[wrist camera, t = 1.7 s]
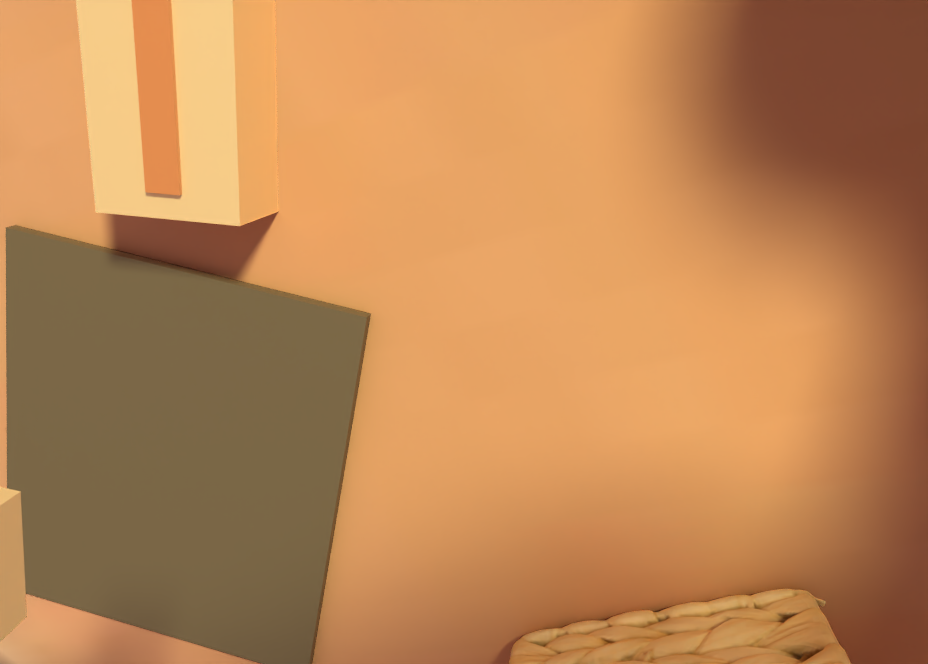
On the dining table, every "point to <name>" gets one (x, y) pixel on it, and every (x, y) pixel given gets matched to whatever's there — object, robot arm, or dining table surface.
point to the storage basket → (696, 635)
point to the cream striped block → (182, 108)
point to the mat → (176, 443)
